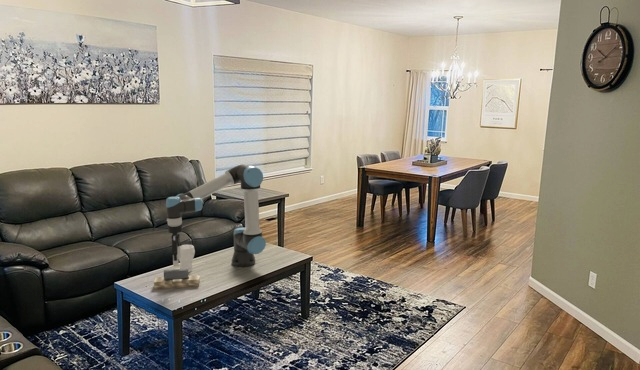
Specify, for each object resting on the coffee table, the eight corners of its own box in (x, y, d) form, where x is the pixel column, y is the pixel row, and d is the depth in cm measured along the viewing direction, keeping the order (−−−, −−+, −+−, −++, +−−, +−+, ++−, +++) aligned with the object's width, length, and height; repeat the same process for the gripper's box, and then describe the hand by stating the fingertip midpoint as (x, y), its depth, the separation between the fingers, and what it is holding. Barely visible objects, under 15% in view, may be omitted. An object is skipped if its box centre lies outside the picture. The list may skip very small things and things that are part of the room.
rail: (199, 281, 266) (199, 275, 265) (199, 286, 259) (198, 279, 258) (156, 284, 261) (155, 277, 260) (154, 289, 254) (153, 282, 254)
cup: (190, 274, 278) (189, 250, 275) (174, 272, 280) (173, 248, 277) (198, 268, 288) (197, 244, 285) (182, 266, 290) (181, 243, 287)
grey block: (188, 282, 262) (188, 268, 261) (188, 283, 260) (187, 270, 258) (164, 283, 260) (164, 270, 258) (164, 285, 257) (163, 271, 256)
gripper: (170, 219, 265) (172, 254, 269) (164, 231, 241) (167, 270, 245) (183, 218, 267) (186, 253, 271) (179, 230, 243) (182, 268, 247)
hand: (177, 261), depth 258 cm, fingers open, 13 cm apart
